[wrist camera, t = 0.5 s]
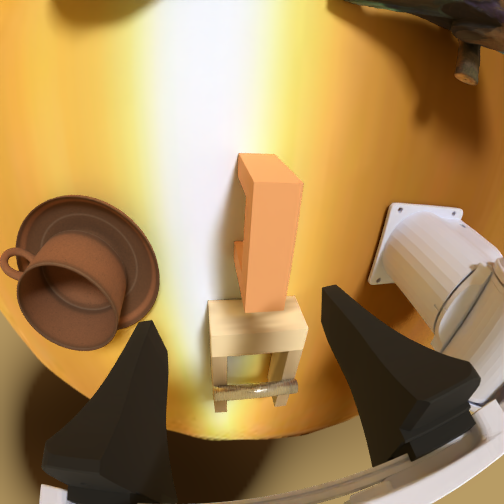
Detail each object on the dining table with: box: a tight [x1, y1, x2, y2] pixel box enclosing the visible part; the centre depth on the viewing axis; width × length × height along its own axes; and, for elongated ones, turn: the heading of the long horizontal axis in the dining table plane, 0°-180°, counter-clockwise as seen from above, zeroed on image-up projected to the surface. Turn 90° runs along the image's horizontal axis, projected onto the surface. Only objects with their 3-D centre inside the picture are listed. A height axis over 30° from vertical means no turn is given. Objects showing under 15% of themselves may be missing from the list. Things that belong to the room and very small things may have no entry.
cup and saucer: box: [0, 195, 159, 351], centre depth 18 cm, size 12×12×6 cm
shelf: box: [208, 296, 308, 412], centre depth 26 cm, size 7×12×5 cm, turn 176°
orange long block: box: [234, 153, 304, 313], centre depth 18 cm, size 2×8×6 cm, turn 177°
